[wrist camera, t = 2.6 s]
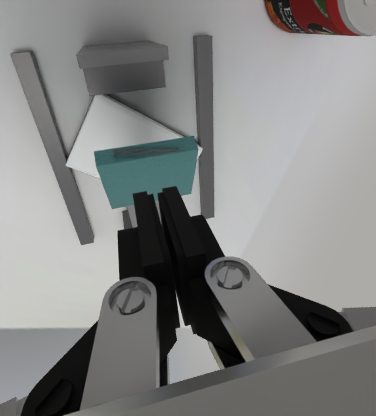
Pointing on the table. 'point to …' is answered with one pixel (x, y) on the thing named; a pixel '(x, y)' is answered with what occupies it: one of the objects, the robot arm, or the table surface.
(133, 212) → the rectangular panel
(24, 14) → the table surface
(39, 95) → the socket frame
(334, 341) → the robot arm
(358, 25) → the canned food
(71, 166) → the external hard drive
